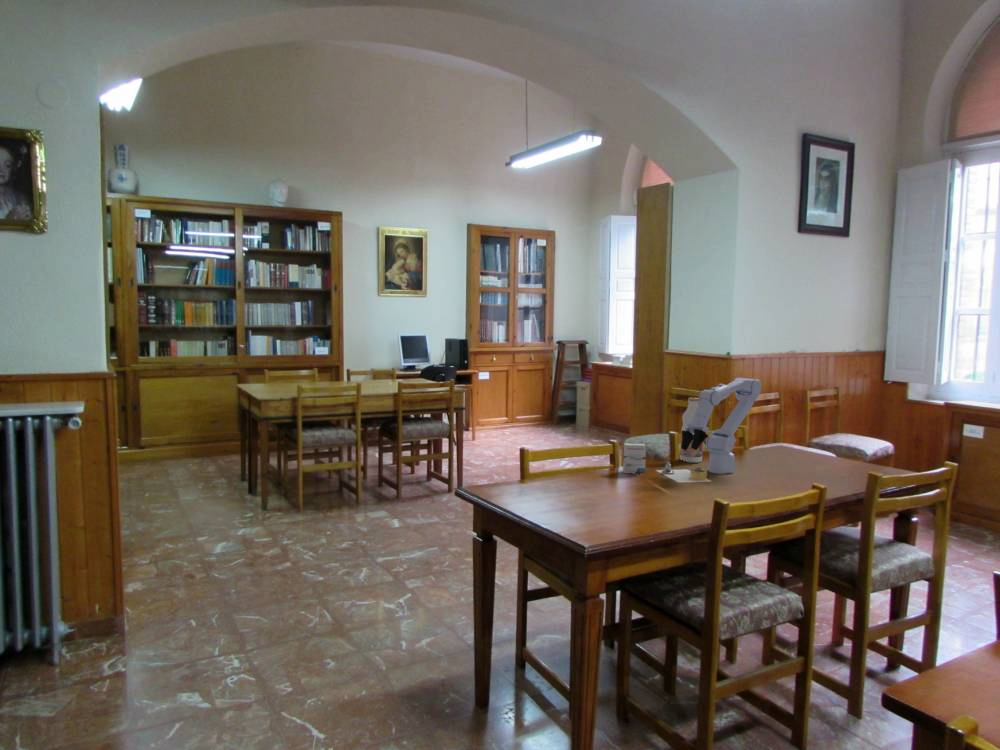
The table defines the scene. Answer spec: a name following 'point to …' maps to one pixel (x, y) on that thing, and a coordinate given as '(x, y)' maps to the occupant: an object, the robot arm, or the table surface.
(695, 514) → the table surface
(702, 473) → the ring
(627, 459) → the ink box
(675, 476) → the board
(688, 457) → the fruit juice
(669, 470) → the hub
